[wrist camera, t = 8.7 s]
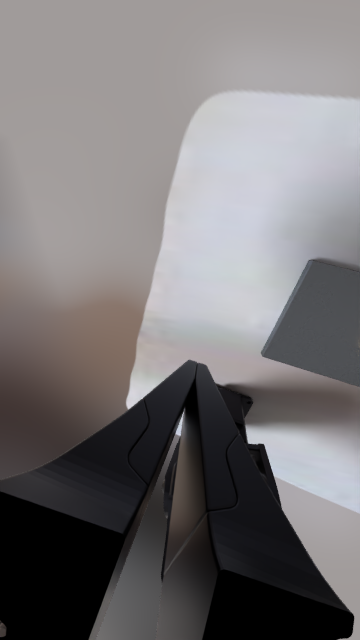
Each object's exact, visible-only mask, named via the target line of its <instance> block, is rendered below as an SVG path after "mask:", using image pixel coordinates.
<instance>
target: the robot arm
mask: <svg viewBox="0 0 360 640" xmlns="http://www.w3.org/2000/svg"><path fill="white" fill-rule="evenodd" d="M248 401H249V402H248ZM252 404H253V401H252V398H250V397H247V396H244V395H241V394H238V393H235V392H232V391H229V390H226V389H224V388H221V387H218V386H216V384H215V382H214V380H213V378H212V376H211V374H210V372H209V370H208V367H207V366H206V365H204V364H201V363H197V362H195V361H192V360H188V361H187V362H185V363H184V364H183V365H182V366H181V367H179V368H178V369H177V370H176V371H175V372H173V373H172V374H171V375H170V376H169V377H167V378H166V379H165V380H164V381H163V382H162V383H160V384H159V385H158V386H157V387H156V388H154V389H153V390H152V391H151V392H150V393H148V394H147V395H146V396H145V397H144V398H143V399H141V400H140V401H139V402H138V403H136V404H135V405H134V406H133V407H131V408H130V409H129V410H128V411H126V412H125V413H124V414H122V415H121V416H120V417H118V418H117V419H115V420H114V421H112V422H111V423H109V424H108V425H106V426H105V427H103V428H102V429H100V430H99V431H97V432H96V433H94V434H93V435H91V436H90V437H88V438H87V439H85V440H84V441H82V442H81V443H79V444H78V445H76V446H74V447H73V448H71V449H70V450H69V451H67V452H66V453H64V454H62V455H61V456H59V457H57V458H55V459H54V460H52V461H50V462H48V463H46V464H44V465H42V466H40V467H37V468H35V469H32V470H30V471H27V472H24V473H21V474H18V475H14V476H11V477H8V478H4V479H1V480H0V640H96V637H97V635H98V632H99V630H100V627H101V624H102V622H103V619H104V617H105V614H106V611H107V609H108V606H109V604H110V601H111V599H112V596H113V593H114V591H115V588H116V586H117V583H118V580H119V578H120V575H121V573H122V570H123V567H124V565H125V562H126V559H127V556H128V554H129V552H130V549H131V547H132V544H133V541H134V539H135V536H136V533H137V531H138V528H139V526H140V523H141V521H142V518H143V516H144V513H145V510H146V508H147V505H148V503H149V500H150V498H151V495H152V492H153V490H154V487H155V485H156V482H157V479H158V477H159V474H160V472H161V469H162V466H163V464H164V461H165V459H166V456H167V453H168V451H169V448H170V446H171V443H172V441H173V438H174V435H175V433H176V430H177V428H178V425H179V422H180V420H181V417H182V414H183V412H184V415H183V423H182V431H181V436H180V439H179V441H178V443H177V445H176V448H175V450H174V453H173V456H172V459H171V461H170V464H169V467H168V470H167V472H166V475H165V479H164V481H163V484H162V491H163V493H164V513H165V516H166V518H168V519H167V533H166V542H165V549H164V556H163V564H162V572H161V579H162V591H161V600H160V607H159V616H158V623H157V631H156V639H155V640H338V639H343V638H349V637H350V636H351V635H352V633H353V625H354V615H353V614H352V613H351V612H350V610H349V609H348V608H347V607H346V606H345V604H344V603H343V602H342V601H341V600H340V599H339V597H338V596H337V595H336V594H335V592H334V591H333V590H332V588H331V587H330V585H329V584H328V583H327V581H326V580H325V578H324V577H323V576H322V574H321V573H320V571H319V570H318V568H317V567H316V565H315V564H314V562H313V561H312V559H311V557H310V556H309V554H308V552H307V551H306V549H305V548H304V546H303V544H302V543H301V541H300V539H299V537H298V536H297V534H296V532H295V531H294V529H293V527H292V525H291V524H290V522H289V521H288V519H287V517H286V515H285V514H284V512H283V510H282V508H281V502H280V498H279V494H278V490H277V486H276V482H275V479H274V476H273V472H272V469H271V466H270V463H269V459H268V456H267V453H266V449H265V446H264V444H258V445H257V444H248V440H247V434H246V427H245V420H244V418H245V416H246V414H247V413H248V411H249V409H250V408H251V406H252Z"/></svg>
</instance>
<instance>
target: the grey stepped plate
mask: <svg viewBox="0 0 360 640" xmlns="http://www.w3.org/2000/svg"><path fill="white" fill-rule="evenodd" d="M261 354H262V356H263V357H266V358H269V359H272V360H275V361H278V362H282V363H285V364H288V365H291V366H294V367H298V368H301V369H304V370H307V371H311V372H314V373H317V374H320V375H323V376H327V377H330V378H333V379H336V380H339V381H343V382H346V383H349V384H352V385H356V386H359V387H360V272H358V271H353V270H349V269H345V268H341V267H337V266H333V265H329V264H325V263H321V262H317V261H312V260H309V261H308V263H307V265H306V267H305V269H304V271H303V273H302V275H301V277H300V279H299V281H298V283H297V284H296V286H295V288H294V290H293V292H292V294H291V296H290V298H289V300H288V302H287V304H286V306H285V308H284V309H283V311H282V313H281V315H280V317H279V319H278V321H277V323H276V325H275V327H274V329H273V331H272V333H271V335H270V336H269V338H268V340H267V342H266V344H265V346H264V348H263V350H262V352H261Z"/></svg>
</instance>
